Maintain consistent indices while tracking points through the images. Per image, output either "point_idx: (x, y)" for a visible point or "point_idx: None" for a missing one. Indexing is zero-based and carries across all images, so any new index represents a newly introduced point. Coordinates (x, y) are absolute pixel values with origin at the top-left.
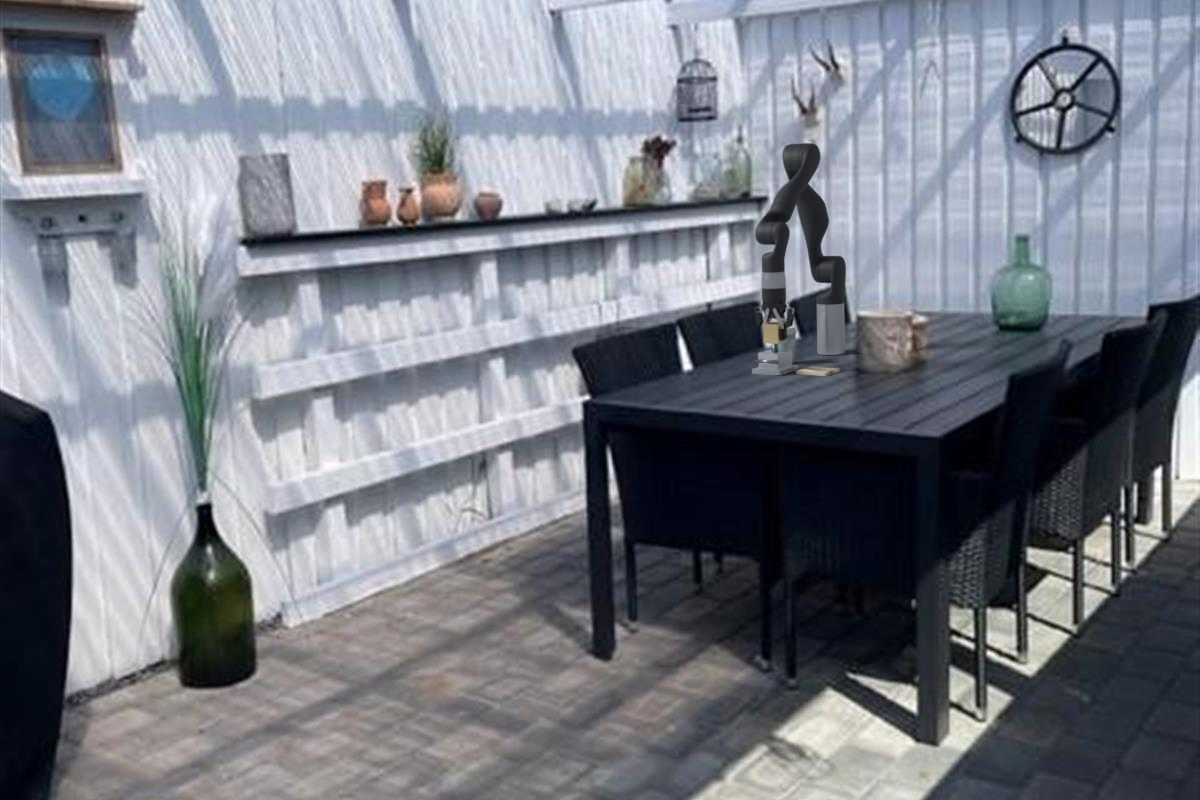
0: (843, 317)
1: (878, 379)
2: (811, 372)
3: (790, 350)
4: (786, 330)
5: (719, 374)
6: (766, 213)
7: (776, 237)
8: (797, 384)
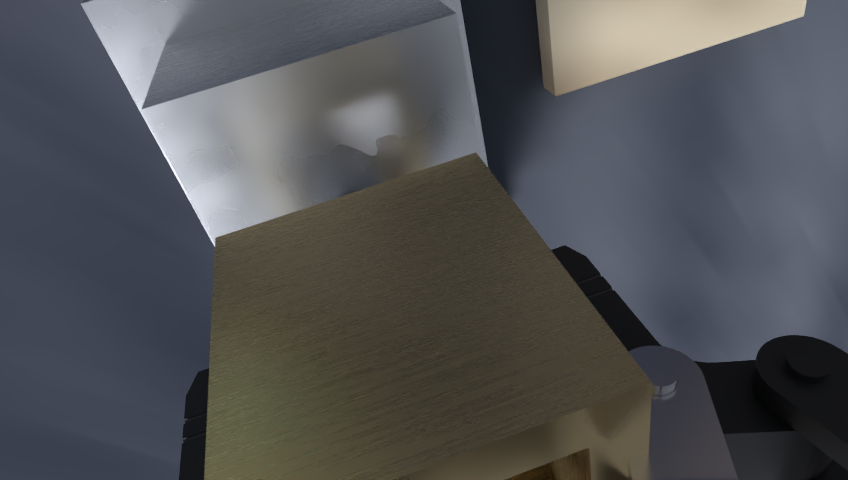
0: None
1: None
2: (688, 52)
3: (457, 46)
4: (647, 341)
5: (98, 442)
6: None
7: None
8: (727, 310)
